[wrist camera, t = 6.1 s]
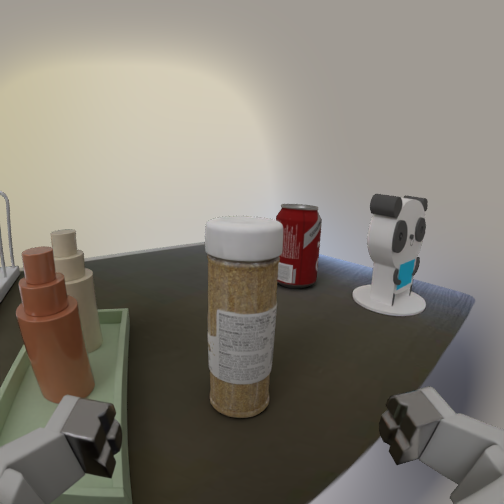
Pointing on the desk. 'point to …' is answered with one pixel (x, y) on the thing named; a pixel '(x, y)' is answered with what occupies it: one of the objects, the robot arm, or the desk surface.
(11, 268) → the file sorter
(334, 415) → the desk surface
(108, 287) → the desk surface
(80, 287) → the cream bottle
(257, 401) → the sprinkles bottle
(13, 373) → the tray
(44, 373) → the terracotta bottle
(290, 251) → the soda can
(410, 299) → the panda figurine
